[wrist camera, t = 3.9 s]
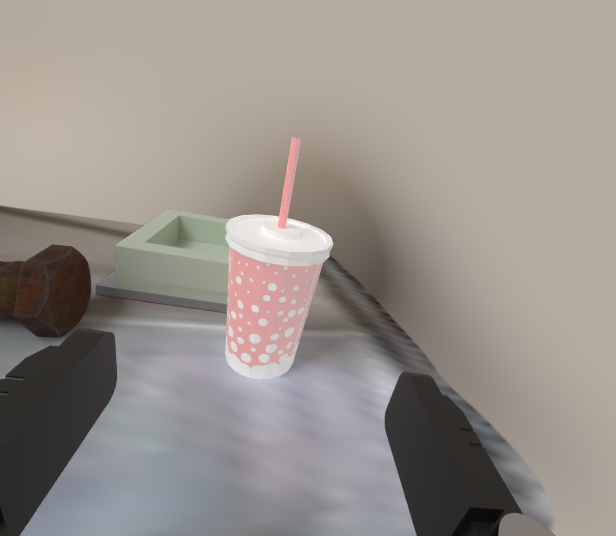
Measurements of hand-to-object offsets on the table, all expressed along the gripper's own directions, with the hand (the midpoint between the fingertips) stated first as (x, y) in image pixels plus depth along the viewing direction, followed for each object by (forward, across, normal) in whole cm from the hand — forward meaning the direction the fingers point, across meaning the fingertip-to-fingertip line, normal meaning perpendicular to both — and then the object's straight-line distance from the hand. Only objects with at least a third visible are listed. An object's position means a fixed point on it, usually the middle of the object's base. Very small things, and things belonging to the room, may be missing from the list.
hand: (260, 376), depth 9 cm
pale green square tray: (+22, +6, +8) cm, 24 cm away
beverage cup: (+10, 0, +8) cm, 13 cm away
